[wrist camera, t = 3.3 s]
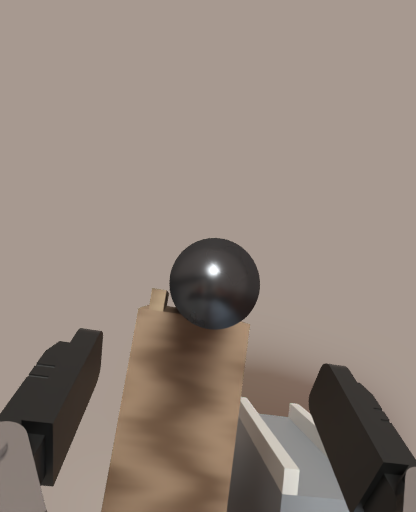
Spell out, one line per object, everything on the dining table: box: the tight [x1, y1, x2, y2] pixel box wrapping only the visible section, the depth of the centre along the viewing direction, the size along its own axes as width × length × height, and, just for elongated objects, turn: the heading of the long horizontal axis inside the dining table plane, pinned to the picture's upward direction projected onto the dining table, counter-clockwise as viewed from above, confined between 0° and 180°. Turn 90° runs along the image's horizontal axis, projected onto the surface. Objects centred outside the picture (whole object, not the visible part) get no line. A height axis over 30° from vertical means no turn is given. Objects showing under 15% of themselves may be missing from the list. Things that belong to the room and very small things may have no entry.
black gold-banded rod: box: [170, 238, 260, 330], centre depth 24 cm, size 23×4×4 cm, turn 6°
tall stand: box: [101, 288, 250, 512], centre depth 26 cm, size 8×14×34 cm, turn 6°
